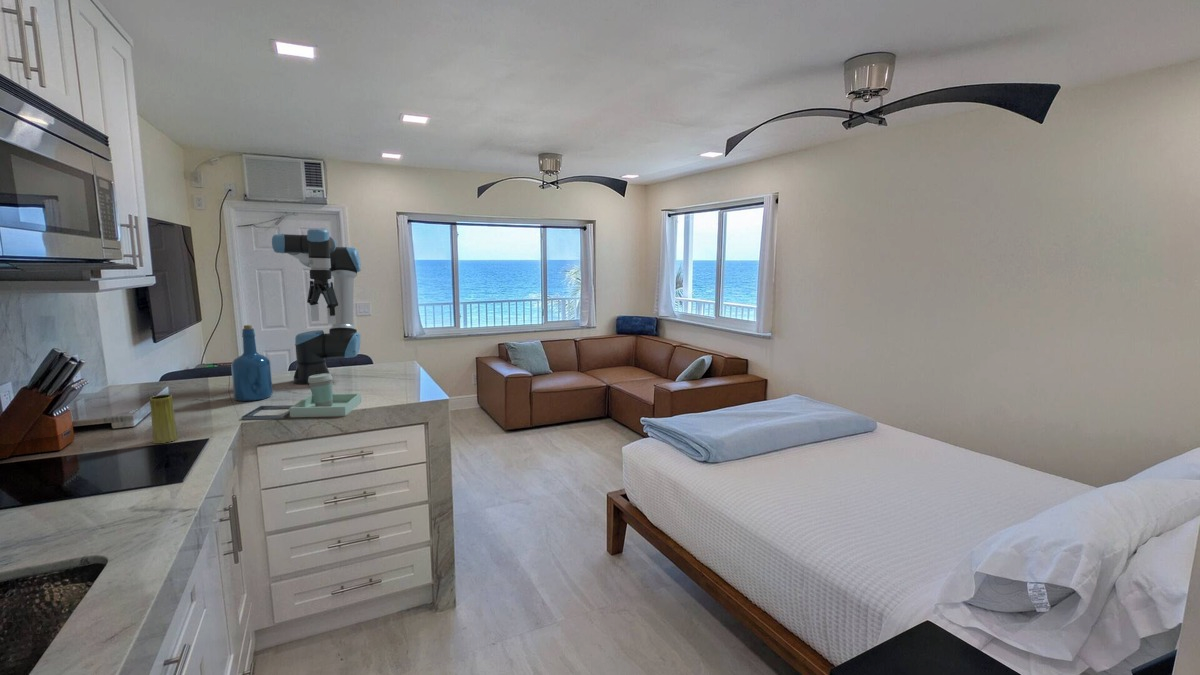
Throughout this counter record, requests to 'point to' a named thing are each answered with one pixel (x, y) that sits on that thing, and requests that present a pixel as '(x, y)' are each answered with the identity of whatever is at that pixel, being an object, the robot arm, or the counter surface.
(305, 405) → the bin
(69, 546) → the counter surface
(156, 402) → the vase
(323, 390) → the coffee cup
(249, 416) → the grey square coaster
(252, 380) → the wine bottle
